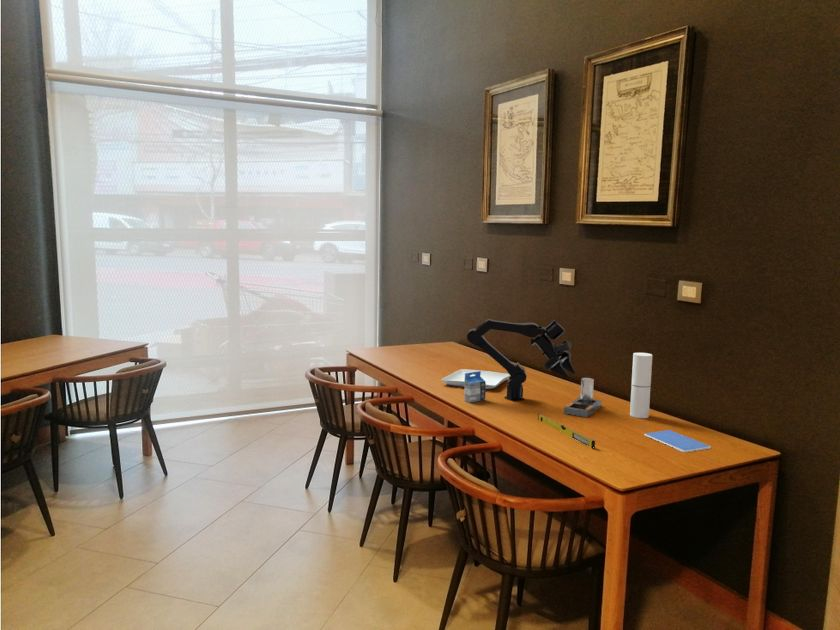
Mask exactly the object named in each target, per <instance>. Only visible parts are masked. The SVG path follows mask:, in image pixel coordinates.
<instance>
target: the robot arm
mask: <svg viewBox="0 0 840 630" xmlns="http://www.w3.org/2000/svg"><path fill="white" fill-rule="evenodd" d="M490 330H493V331H494V330H496V331H503V332H510V333H516V334H517V333H518V334H520V335H522V336H524V337H528V338H531V339H530V346H534V345H536V346H537V347H538V348H539V349H540V351H541V352H542V353H541V354H542V355H543V356H546V358H547V359H548V360H547V361H546V362H544V368H545V369H546V370H549V371H550V372H554V373H555V374H558V375H560V376H562V377H564V378H565V379H568V378H569V374H568V372H569V373H571V374H573V375H574V374H575V373H576V370H575V368H574V366H573V364H572V362H571V358H572V353H571V351H570V350H572V349H573V347H572V343H571V341H568V340H567V339H566V340H563V341H562V344H560V345H558V344H557V343H553V342H552V341H551V340H557V339H558V338H560V336H562V335H563V334H564V333H565V332H566V330H565V329H564V327H562V325H561V324H559V323H558V322H557V320H556V319H554V320H552V321H551V322H550V324H548V325H547V326H540V325H538V324H537V323H535V322H522V323H521V322H520V323H518V322H517V323H516V322H511V321H502V320H495V319H491V318H488V319H486V320H485V321H484V322H482V323H481V324H480V325H478V326H476V328H474V327H473V328H471V329H469V331H468V333H467V334H466V339H467V341H468V342H469V343H470V344H472V345H473V346H475V347H477V348H478V349H481V350H483V351H484V352H485V353H486V354H487V355H489V357H491V358H492V359H493V360H494V361H495V362H497V364H498V365H500V366H501V367H502V368H504V370H506V372H507V374H509V375H510V377H509V378H508V379H507V380H508V381H507V383H508V384H507V385H506V396H504V399H507V400H509V401H512V402H516V401H522V400H525V397H523V396H524V387H523V385H524V383H525V382H526V380H527V371H526V370H525V367H524V366H522V365H521V364H520V362H518V361H517V362H516V363H514V362H512V361H511V360H509V358H507V357H506V356H505V355H504V354H503V353H501V351H499V350H498V349H497V348H496V347H495V346H493V345H492V344H491V343H490V342H489V341H488V340H487V339H486V338H485V336H484V335H485V334H486V333H488V332H489V331H490ZM567 371H568V372H567Z"/></svg>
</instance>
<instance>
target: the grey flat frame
mask: <svg viewBox="0 0 840 630" xmlns="http://www.w3.org/2000/svg"><path fill="white" fill-rule="evenodd" d="M580 399H581V396H579V397H577V398H576V399H574V400H572V401H571V402H569V403H568V404H567V405H565V406H564V407H563V415H568V414H571V415H570V416H574V415H576V416H575V417H580V416H582V418H586V417H587V418H588V417H590V416H591V415H592V414H593V413H595V412H596V411H597V410H598V409H599V408H601V407H602V400H601V399H595V398H593V404H587V403H580ZM600 406H601V407H600ZM595 410H596V411H595Z"/></svg>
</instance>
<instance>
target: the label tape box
mask: <svg viewBox="0 0 840 630" xmlns="http://www.w3.org/2000/svg"><path fill="white" fill-rule="evenodd" d="M481 371H482V370H480V371H478V372H471V373H465V387H464V401H465V402H466V403H469V404H471V403H475V402H482V401H485V400H486V389H485V386H486V382H485V381H484V380H483V379H482V378H481V377H480V375H481ZM472 374H473V375H475V376H471V377H470V375H472Z"/></svg>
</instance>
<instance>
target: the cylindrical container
mask: <svg viewBox="0 0 840 630" xmlns="http://www.w3.org/2000/svg"><path fill="white" fill-rule="evenodd" d="M652 366H653V354H652V353H648V352H633V354H632V369H631V370H632V371H631V372H632V373H631V387H630V389H631V390H630V405H629V406H630V408H629V409H630V410H629V416H630V417H632V418H637V419H648V418H649V417H650V416H649V415H650V402H651V401H650V400H651V399H650V398H651V387H652V385H651V384H652Z"/></svg>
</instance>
